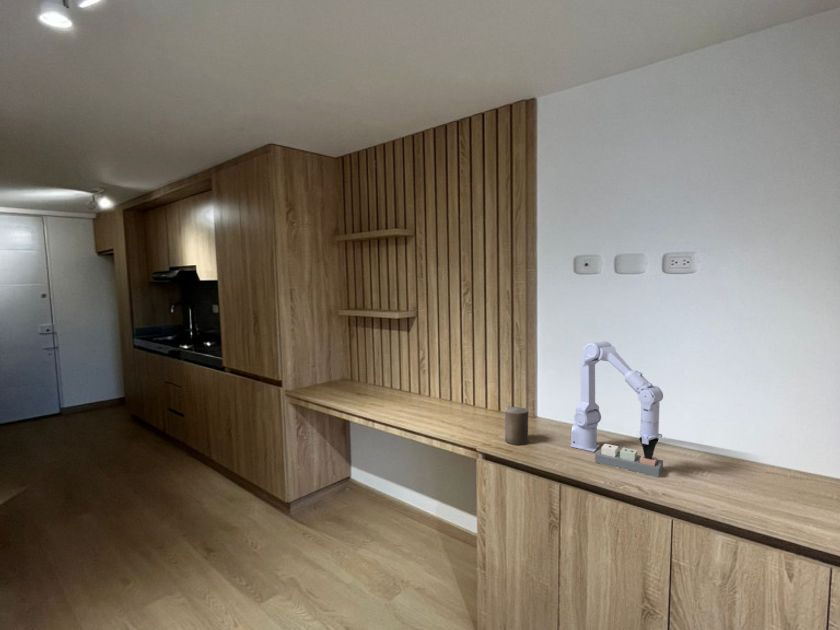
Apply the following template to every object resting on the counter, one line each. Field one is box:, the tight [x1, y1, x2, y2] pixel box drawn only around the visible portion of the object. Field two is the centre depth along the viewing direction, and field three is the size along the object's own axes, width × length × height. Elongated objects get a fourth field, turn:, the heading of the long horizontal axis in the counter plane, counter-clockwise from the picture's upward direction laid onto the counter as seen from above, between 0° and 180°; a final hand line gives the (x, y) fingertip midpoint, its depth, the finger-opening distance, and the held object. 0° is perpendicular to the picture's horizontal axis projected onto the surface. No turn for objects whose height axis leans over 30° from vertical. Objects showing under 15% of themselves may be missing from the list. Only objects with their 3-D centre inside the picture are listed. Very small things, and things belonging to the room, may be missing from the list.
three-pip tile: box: [640, 454, 658, 466], centre depth 154 cm, size 5×5×4 cm
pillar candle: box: [504, 406, 529, 446], centre depth 183 cm, size 10×10×15 cm
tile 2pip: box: [619, 447, 638, 462], centre depth 158 cm, size 5×5×4 cm
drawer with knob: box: [600, 443, 619, 457], centre depth 162 cm, size 5×5×4 cm
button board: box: [594, 447, 664, 478], centre depth 158 cm, size 21×9×3 cm, turn 52°
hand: (648, 457), depth 154 cm, fingers closed
